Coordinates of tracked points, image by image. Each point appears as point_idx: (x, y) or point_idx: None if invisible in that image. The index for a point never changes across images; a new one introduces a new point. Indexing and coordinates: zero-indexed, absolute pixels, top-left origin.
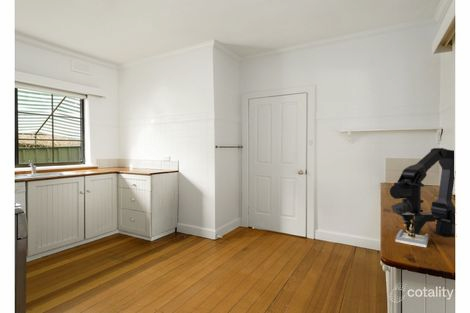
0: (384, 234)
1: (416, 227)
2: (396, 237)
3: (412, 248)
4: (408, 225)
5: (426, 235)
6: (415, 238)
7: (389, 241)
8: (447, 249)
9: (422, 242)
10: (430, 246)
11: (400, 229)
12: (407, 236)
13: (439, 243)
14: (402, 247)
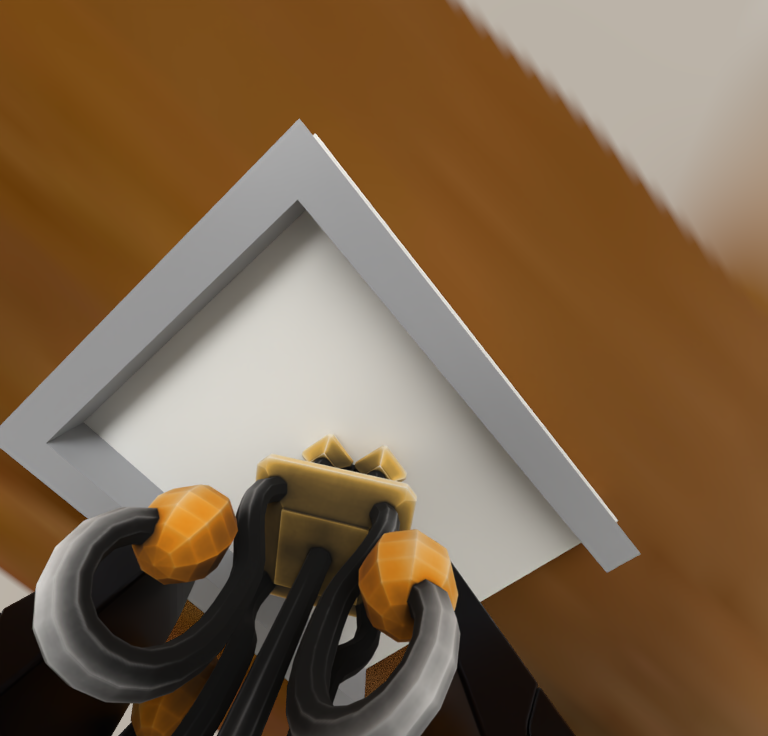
0: (687, 250)
1: (10, 625)
2: (296, 133)
3: (14, 178)
4: None
5: None
6: None
7: (355, 31)
8: (14, 572)
9: (29, 402)
10: None
11: (636, 552)
12: (406, 460)
13: None
14: (49, 31)
